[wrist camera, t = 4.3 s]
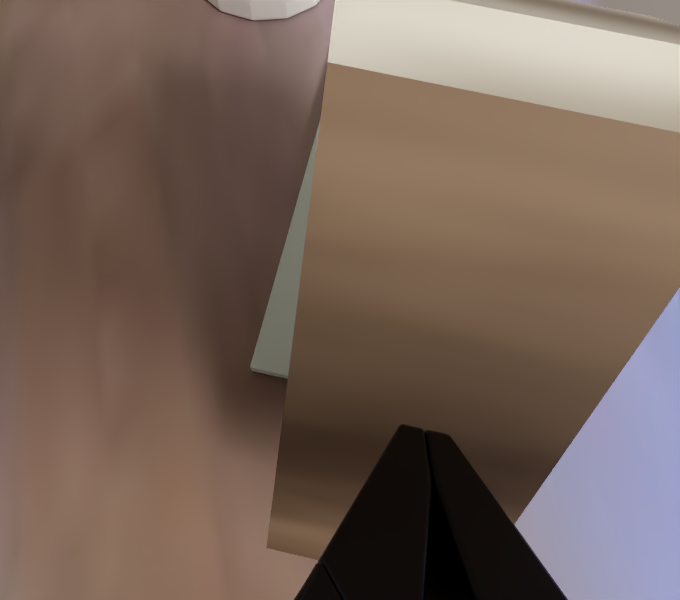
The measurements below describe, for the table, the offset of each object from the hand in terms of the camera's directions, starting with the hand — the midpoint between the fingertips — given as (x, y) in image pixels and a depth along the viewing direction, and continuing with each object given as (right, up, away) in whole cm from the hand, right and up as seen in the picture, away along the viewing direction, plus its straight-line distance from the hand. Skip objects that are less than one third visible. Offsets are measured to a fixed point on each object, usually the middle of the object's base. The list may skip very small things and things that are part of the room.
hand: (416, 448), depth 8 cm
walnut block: (0, -3, +6) cm, 6 cm away
